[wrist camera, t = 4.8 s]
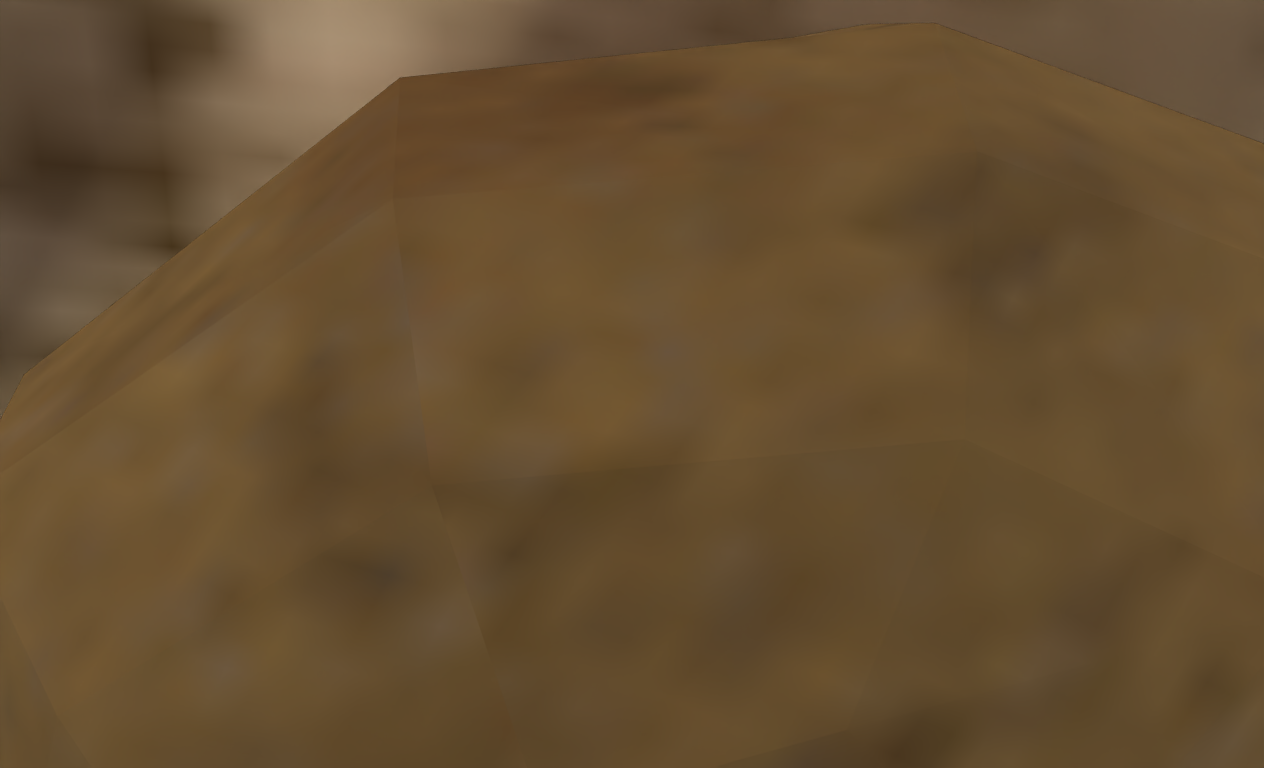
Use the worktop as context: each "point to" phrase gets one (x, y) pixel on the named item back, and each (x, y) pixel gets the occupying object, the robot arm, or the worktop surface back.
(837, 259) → the potato
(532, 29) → the worktop surface
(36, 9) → the worktop surface
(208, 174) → the worktop surface
